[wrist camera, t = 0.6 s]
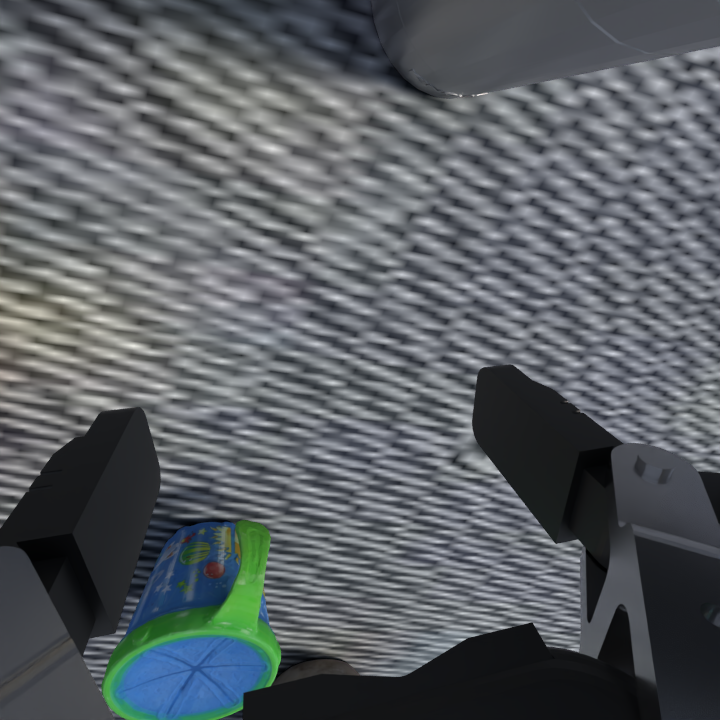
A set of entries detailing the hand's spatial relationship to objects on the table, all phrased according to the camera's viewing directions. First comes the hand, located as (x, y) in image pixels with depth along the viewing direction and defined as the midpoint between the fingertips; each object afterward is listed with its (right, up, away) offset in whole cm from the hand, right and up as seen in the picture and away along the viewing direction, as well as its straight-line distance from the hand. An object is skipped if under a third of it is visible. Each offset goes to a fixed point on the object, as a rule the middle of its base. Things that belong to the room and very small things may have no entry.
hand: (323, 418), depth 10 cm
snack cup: (-12, -14, +25) cm, 31 cm away
